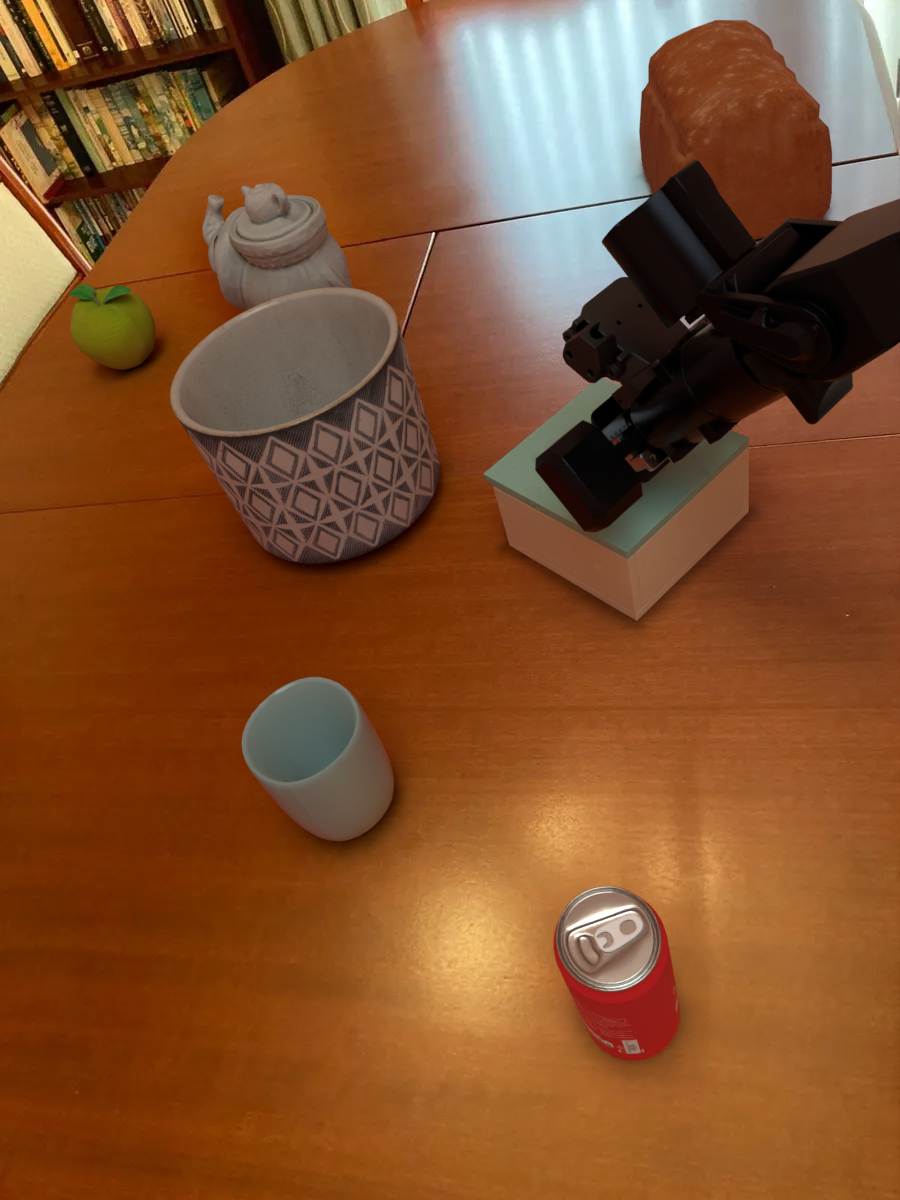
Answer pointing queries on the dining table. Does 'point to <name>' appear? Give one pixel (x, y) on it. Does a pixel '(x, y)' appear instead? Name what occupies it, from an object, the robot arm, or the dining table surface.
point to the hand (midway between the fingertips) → (603, 450)
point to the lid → (658, 494)
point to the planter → (312, 423)
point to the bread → (736, 124)
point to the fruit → (112, 326)
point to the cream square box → (652, 564)
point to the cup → (320, 758)
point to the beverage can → (619, 971)
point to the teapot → (272, 247)
